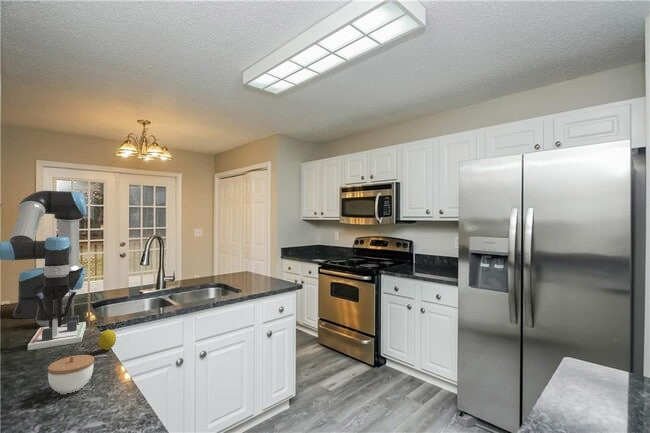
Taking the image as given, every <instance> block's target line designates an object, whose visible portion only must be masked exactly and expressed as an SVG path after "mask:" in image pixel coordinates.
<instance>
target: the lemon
mask: <svg viewBox="0 0 650 433" xmlns="http://www.w3.org/2000/svg"><path fill="white" fill-rule="evenodd" d="M116 341H117V334H116V333H115V332H114V330H111V329H109V328H108V329H106V330H104V331H101V333H100V335H99V337H98V347H99V348H100V349H102V350H105V351H109V350H110V349H111V348H113V346H115V344H116Z"/></svg>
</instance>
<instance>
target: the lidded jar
mask: <svg viewBox="0 0 650 433" xmlns="http://www.w3.org/2000/svg"><path fill="white" fill-rule="evenodd" d="M94 364H95V357H94V356H93V355H90V354H78V355H71V356H67V357H63V358H61V359H58V360H55V361H54V362H52V363H51V364H49V365H48V367H47V378H48V380H47V381H48V383H49V386H50V388H51V389H52V390H53V391H55V392H56V393H58V394H59V393H60V394H59V395H68V394H67V393H70V394H73V393H76V392H79V391H81V390H82V389H83V388H84V387H85V386H86V384H88V382H89V381H90V380H91V377H92V375H93V372H94V367H95V366H94ZM81 388H82V389H81ZM75 391H76V392H75ZM72 392H73V393H72Z"/></svg>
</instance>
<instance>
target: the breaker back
mask: <svg viewBox="0 0 650 433" xmlns="http://www.w3.org/2000/svg"><path fill="white" fill-rule="evenodd" d="M72 320H77V325H78V324H79V323H80V315H79V314H76V315H70V316H69V321H72Z"/></svg>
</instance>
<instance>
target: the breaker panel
mask: <svg viewBox="0 0 650 433" xmlns="http://www.w3.org/2000/svg"><path fill="white" fill-rule="evenodd" d="M86 328H87V322H86V321H82V322H79V324H78V325H77V329H76V330H73V331H67V323H66V324H62V325H61V326H60V327H58V335H57V336H53V338H52V339H50V340H43V341H42V331H43V330H44V329H49V327H43V326H41V327H39V328H38V330H37V332H36V333H35V334H34V336H33V337H32V338H31V339H30V341H29V342H28V344H27V351H32V350H38V349H44V348H45V349H46V348H49V347H50V348H51V347H57V346H63V345H64V346H65V345H69V344H70V345H71V344H77V343H81V342H82V340H83V338H84V337H83V336H84V334H85V330H86Z"/></svg>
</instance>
